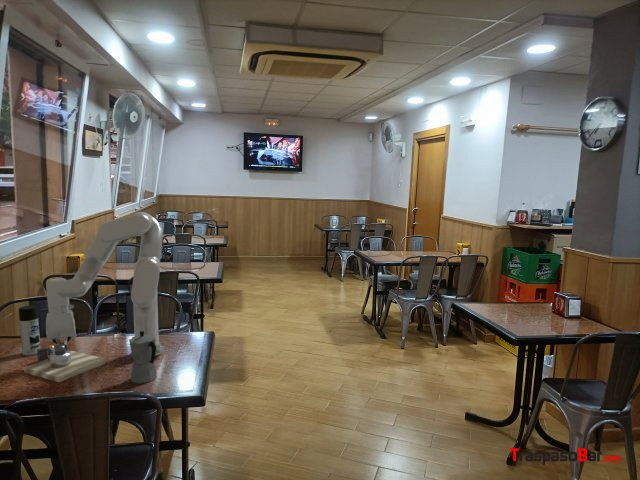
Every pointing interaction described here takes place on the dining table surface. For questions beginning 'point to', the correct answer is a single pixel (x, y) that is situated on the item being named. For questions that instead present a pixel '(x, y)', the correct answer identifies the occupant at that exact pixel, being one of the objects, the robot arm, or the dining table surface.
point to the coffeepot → (143, 358)
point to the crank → (59, 355)
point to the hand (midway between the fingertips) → (63, 353)
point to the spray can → (29, 330)
